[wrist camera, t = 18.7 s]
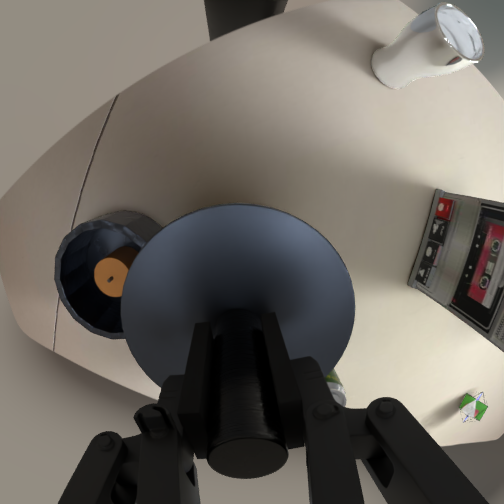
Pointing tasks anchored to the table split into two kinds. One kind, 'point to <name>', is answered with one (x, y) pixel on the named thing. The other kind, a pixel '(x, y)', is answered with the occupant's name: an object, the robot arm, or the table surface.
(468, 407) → the geometric puzzle
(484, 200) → the cassette tape recorder
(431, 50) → the beer glass
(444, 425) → the table surface
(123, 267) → the candle
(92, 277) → the tin
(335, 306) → the tin lid
